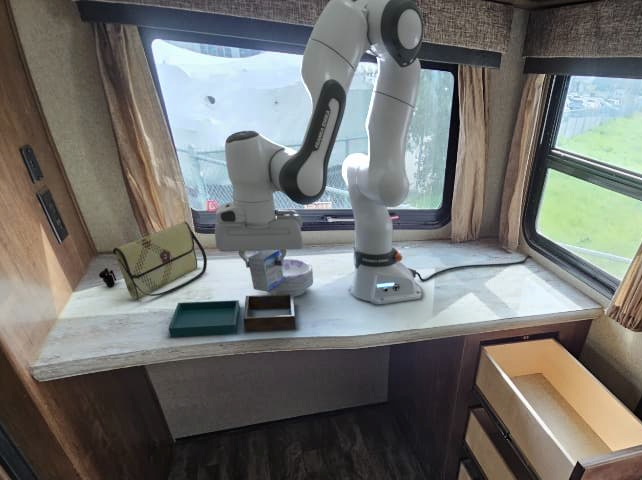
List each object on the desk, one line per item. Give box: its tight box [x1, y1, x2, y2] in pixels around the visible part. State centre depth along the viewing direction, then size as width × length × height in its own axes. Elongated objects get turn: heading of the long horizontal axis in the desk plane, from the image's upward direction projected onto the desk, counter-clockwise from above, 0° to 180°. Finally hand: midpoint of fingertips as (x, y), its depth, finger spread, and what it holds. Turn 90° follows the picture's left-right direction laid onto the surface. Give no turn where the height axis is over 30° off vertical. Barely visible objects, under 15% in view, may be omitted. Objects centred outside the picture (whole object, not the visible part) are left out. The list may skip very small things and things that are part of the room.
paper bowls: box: [270, 258, 314, 298], centre depth 131 cm, size 15×15×8 cm
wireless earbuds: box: [98, 268, 117, 288], centre depth 124 cm, size 7×2×5 cm, turn 14°
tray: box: [168, 299, 241, 338], centre depth 114 cm, size 15×14×3 cm
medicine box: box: [247, 250, 284, 293], centre depth 111 cm, size 8×4×9 cm, turn 166°
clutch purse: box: [112, 221, 208, 301], centre depth 126 cm, size 30×7×15 cm, turn 167°
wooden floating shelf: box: [242, 294, 297, 333], centre depth 118 cm, size 13×14×4 cm
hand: (265, 266), depth 110 cm, fingers closed on medicine box, 6 cm apart
